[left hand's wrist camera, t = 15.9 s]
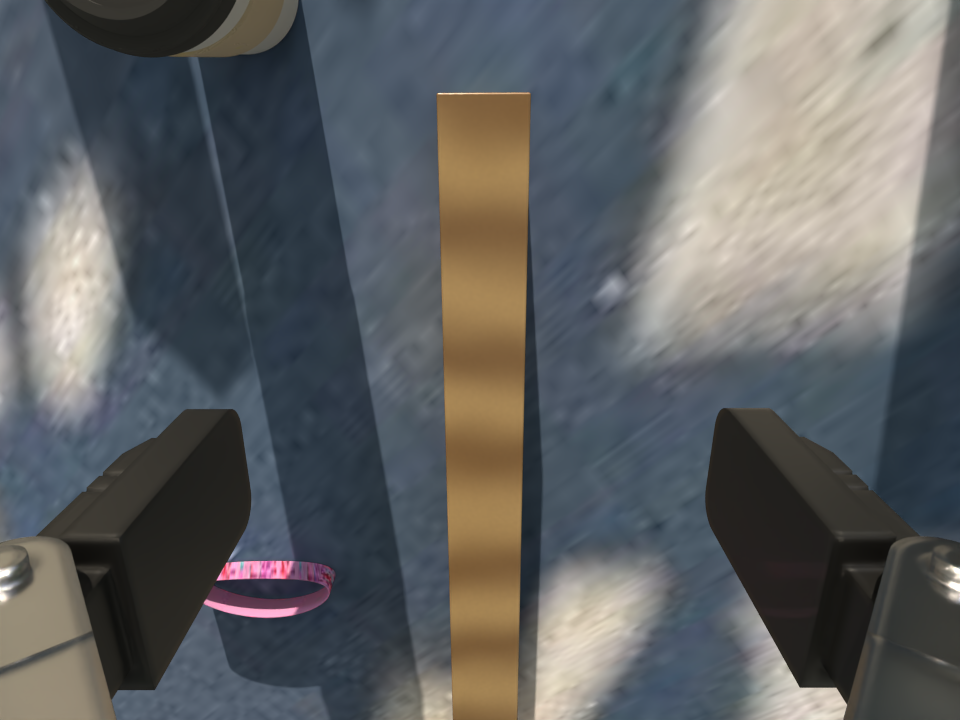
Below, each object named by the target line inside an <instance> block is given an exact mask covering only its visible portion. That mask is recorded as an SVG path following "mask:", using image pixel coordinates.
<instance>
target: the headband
mask: <svg viewBox="0 0 960 720" xmlns="http://www.w3.org/2000/svg"><path fill="white" fill-rule="evenodd" d="M233 579H296V580H306V581H312V582H316V583H319V584H322V585H324V586H325V587H324V588H323V589H321V590H319V591H317V592H314V593H311V594H308V595H305V596H300V597H295V598H287V599H261V598H253V597H247V596H242V595H238V594H234V593H231V592H228V591H225V590H223V589H220V588H218V587H216V586H213V588H212V589H211V591H210V593H209V595H208V596H207V598H206V600H205V602H204V604H205V605H207V606H209V607H212V608H214V609H217V610H220V611H223V612H227V613H231V614H236V615H241V616H248V617H259V618H275V617H285V616H291V615H296V614H300V613H304V612H307V611H309V610H312V609H314V608H316V607H318V606H319V605H321V604H322V603H324V602H325V601H326V600H327V599H328V597H329V595H330V592H331V589H332V585H333V582H334V579H335V572H334V570H333V569H332V568H330V567H328V566H325V565H322V564H317V563H311V562H297V561H251V562H231V563H226V565H225V566H224V568H223V570H222V572H221V573H220V575H219V577H218V579H217V581H218V580H233Z"/></svg>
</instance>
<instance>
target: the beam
mask: <svg viewBox="0 0 960 720" xmlns="http://www.w3.org/2000/svg"><path fill="white" fill-rule="evenodd" d="M530 108H531V94H530V93H437V130H438V168H439V206H440V245H441V283H442V321H443V359H444V397H445V435H446V473H447V511H448V550H449V588H450V626H451V664H452V702H453V720H517V708H518V662H519V616H520V570H521V524H522V477H523V431H524V385H525V339H526V293H527V247H528V200H529V154H530Z"/></svg>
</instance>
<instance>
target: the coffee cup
mask: <svg viewBox="0 0 960 720" xmlns="http://www.w3.org/2000/svg"><path fill="white" fill-rule="evenodd" d="M45 1H46V3H47V4H48V5H49V6H50V7H51V9H52V10H53V11H54V12H55V13H56V14H57V15H58V16H59V17H60V18H61V19H62V20H63V21H64V22H65V23H66V24H68V25H69V26H70V27H71V28H73V29H74V30H75V31H77V32H78V33H79V34H81V35H83V36H84V37H86V38H87V39H89V40H91V41H93V42H95V43H97V44H99V45H102V46H104V47H107V48H110V49H113V50H116V51H118V52H121V53H125V54H129V55H133V56H139V57H166V56H171V57H231V56H236V55H239V54H257V53H261V52H264V51H266V50H269V49H270V48H272V47H274V46H275V45H277V44H278V43H279V42H280V41H281V40H282V39H283V38H284V37H285V36H286V34H287V33H288V31H289V30H290V28H291V26H292V24H293V22H294V19H295V16H296V13H297V8H298V0H45Z"/></svg>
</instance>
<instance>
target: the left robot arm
mask: <svg viewBox="0 0 960 720" xmlns="http://www.w3.org/2000/svg"><path fill="white" fill-rule="evenodd" d="M705 503H706V512H707V517H708V521H709V524H710V527H711V529H712V531H713V532H714V534H715V536H716V538H717V540H718V541H719V543H720V545H721V547H722V549H723V550H724V552H725V554H726V556H727V558H728V559H729V561H730V563H731V565H732V567H733V568H734V570H735V572H736V574H737V575H738V577H739V579H740V581H741V583H742V584H743V586H744V588H745V590H746V592H747V593H748V595H749V597H750V599H751V601H752V602H753V604H754V606H755V608H756V610H757V611H758V613H759V615H760V617H761V619H762V620H763V622H764V624H765V626H766V628H767V629H768V631H769V633H770V635H771V636H772V638H773V640H774V642H775V644H776V645H777V647H778V649H779V651H780V653H781V654H782V656H783V658H784V660H785V662H786V663H787V665H788V667H789V669H790V671H791V672H792V674H793V676H794V678H795V680H796V681H797V683H798V685H799V687H800V688H837V689H838V691H839V692H840V694H841V696H842V697H843V699H844V700H845V702H846V704H847V708H846V711H845V715H844V719H843V720H960V543H959V542H956V541H952V540H947V539H942V538H936V537H925V536H919V535H918V534H917V533H916V532H915V531H914V530H913V529H912V528H911V527H910V526H909V525H908V524H907V523H906V522H905V521H904V520H903V519H902V518H901V517H900V516H899V515H897V514H896V513H895V512H894V511H893V510H892V509H891V508H890V507H889V506H888V505H887V504H886V503H885V502H884V501H883V500H882V499H881V498H880V497H879V496H878V495H877V494H876V493H875V492H874V491H873V490H868V486H867V485H866V484H865V483H864V482H863V481H862V480H861V479H860V478H859V477H858V476H857V475H853V474H852V470H851V469H850V468H849V467H848V466H846V465H845V464H844V463H843V462H842V461H841V460H840V459H839V458H838V457H837V456H836V455H835V454H834V453H833V452H831V451H829V450H827V449H825V448H824V447H822V446H820V445H818V444H816V443H814V442H812V441H811V440H809V439H807V438H805V437H799V436H798V435H797V434H796V433H795V432H794V431H793V430H792V429H791V428H790V427H789V426H788V425H787V424H786V423H785V422H784V421H783V420H782V419H781V418H780V417H779V416H778V415H777V414H776V413H775V412H774V411H773V410H772V409H769V408H723V409H722V410H721V411H720V412H719V413H718V416H717V419H716V423H715V429H714V436H713V443H712V450H711V457H710V464H709V471H708V478H707V485H706V494H705ZM250 510H251V489H250V482H249V475H248V469H247V462H246V455H245V448H244V441H243V434H242V427H241V422H240V418H239V416H238V414H237V412H236V411H235V410H233V409H187V410H184V411H183V412H182V413H181V414H180V415H179V416H178V417H177V418H176V419H175V420H174V421H173V422H172V423H171V424H170V425H169V426H168V427H167V428H166V429H165V430H164V431H163V432H162V433H161V434H160V435H159V436H158V437H157V438H151V439H149V440H147V441H145V442H144V443H142V444H140V445H138V446H136V447H134V448H132V449H131V450H129V451H127V452H125V453H123V454H122V455H121V456H120V457H119V458H118V459H117V460H115V461H114V462H113V463H112V464H111V465H110V466H109V467H108V468H107V469H106V470H105V471H104V472H103V476H99V477H98V478H97V479H95V480H94V481H93V482H92V483H91V484H90V485H89V486H88V487H87V491H86V492H82V493H81V494H80V495H79V496H78V497H77V498H76V499H74V500H73V501H72V502H71V503H70V504H69V505H68V506H67V507H66V508H65V509H64V510H63V511H62V512H61V513H60V514H59V515H58V516H57V517H56V518H55V519H53V520H52V521H51V522H50V523H49V524H48V525H47V526H46V527H45V528H44V529H43V530H42V531H41V532H40V533H39V534H38V535H37V536H35V537H24V538H18V539H13V540H8V541H4V542H1V543H0V720H117V719H116V715H115V711H114V708H113V704H112V698H113V697H114V695H115V694H116V692H117V690H155V689H156V687H157V685H158V683H159V682H160V680H161V678H162V676H163V674H164V673H165V671H166V669H167V667H168V666H169V664H170V662H171V660H172V658H173V657H174V655H175V653H176V651H177V650H178V648H179V646H180V644H181V643H182V641H183V639H184V637H185V635H186V634H187V632H188V630H189V628H190V627H191V625H192V623H193V621H194V619H195V618H196V616H197V614H198V612H199V611H200V609H201V607H202V605H203V604H204V602H205V600H206V598H207V596H208V595H209V593H210V591H211V589H212V588H213V586H214V584H215V582H216V581H217V579H218V577H219V575H220V573H221V572H222V570H223V568H224V566H225V565H226V563H227V561H228V559H229V557H230V556H231V554H232V552H233V550H234V549H235V547H236V545H237V543H238V542H239V540H240V538H241V536H242V534H243V533H244V531H245V529H246V526H247V524H248V520H249V516H250Z"/></svg>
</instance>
